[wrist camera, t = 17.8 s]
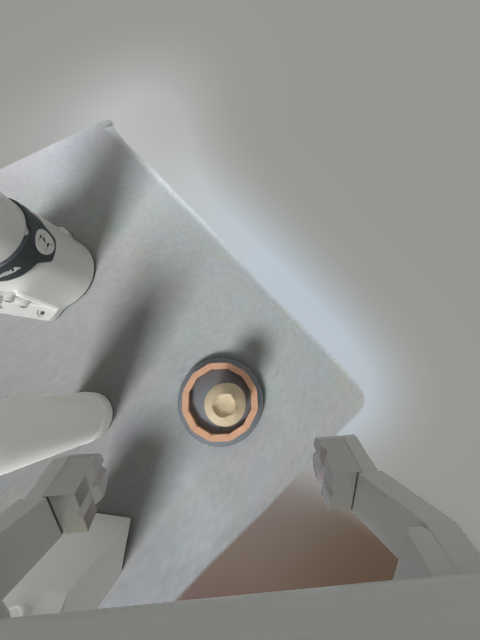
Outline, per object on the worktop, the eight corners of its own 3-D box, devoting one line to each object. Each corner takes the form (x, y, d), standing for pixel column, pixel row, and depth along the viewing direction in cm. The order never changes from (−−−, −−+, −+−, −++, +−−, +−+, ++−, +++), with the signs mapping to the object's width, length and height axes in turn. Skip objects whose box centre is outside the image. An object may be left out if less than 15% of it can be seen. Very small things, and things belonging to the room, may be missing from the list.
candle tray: (178, 446, 43) (174, 449, 40) (180, 359, 46) (177, 358, 44) (264, 443, 43) (265, 447, 40) (260, 356, 46) (261, 355, 43)
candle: (226, 376, 44) (220, 374, 34) (252, 396, 43) (254, 401, 33) (205, 403, 43) (193, 409, 33) (232, 425, 42) (227, 438, 32)
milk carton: (121, 572, 39) (10, 742, 20) (75, 564, 39) (-76, 726, 21) (131, 517, 41) (36, 629, 22) (87, 510, 41) (-44, 616, 22)
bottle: (101, 448, 43) (-203, 587, 14) (58, 432, 44) (-318, 533, 14) (121, 399, 45) (-113, 431, 16) (79, 385, 45) (-220, 390, 16)
